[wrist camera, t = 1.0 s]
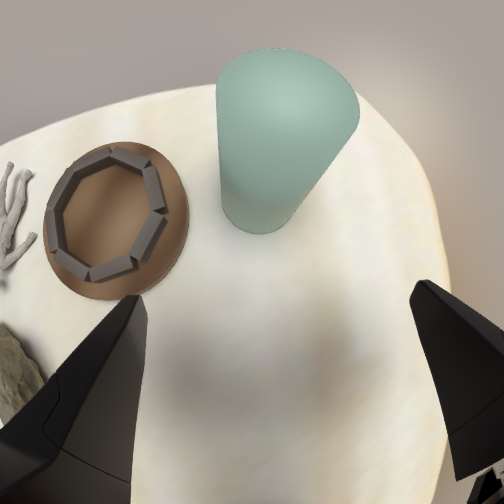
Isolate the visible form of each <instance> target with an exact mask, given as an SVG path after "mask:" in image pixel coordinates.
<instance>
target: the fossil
mask: <svg viewBox="0 0 504 504" xmlns="http://www.w3.org/2000/svg"><path fill="white" fill-rule="evenodd" d="M43 385H44V382H43V379H42V378H41V376H40V374H39V370H38V367H37V365H36V364H35V363H34V362H33V361H32V360H31V359H28V358H27V356H26V354H25V352H24V351H23V349H22V348H21V346H20V342H19V341H18V340H17V339H16V338H14V337H12V335H11V334H10V333H9V332H8V331H7V330H6V329H5V328H4V327H3V326H2V325H1V324H0V418H1V421H2V423H3V425H4V426H5V425H6V423H7V422H8V421H9V420H10V419H11V418H12V417H13V416H14V415H15V414H16V413H17V412H18V411H19V410H20V409H21V408H22V407H23V406H24V405H25V404H26V403H27V402H28V401H29V400H30V399H31V398H32V397H33V396H34V395H35V394H36V393H37V392H38V391H39V390H40V388H41V387H42V386H43Z"/></svg>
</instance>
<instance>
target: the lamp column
mask: <svg viewBox="0 0 504 504" xmlns="http://www.w3.org/2000/svg"><path fill="white" fill-rule="evenodd" d="M216 109H217V130H218V149H219V166H220V182H221V197H222V205H223V209H224V212H225V214H226V216H227V217H228V219H229V220H230V221H231V222H232V223H233V224H234V225H235V226H237V227H238V228H240V229H241V230H243V231H246V232H249V233H253V234H267V233H271V232H274V231H276V230H278V229H280V228H281V227H282V226H284V225H285V224H286V223H287V222H288V220H289V219H290V218H291V216H292V215H293V214H294V212H295V211H296V210H297V208H298V207H299V206H300V204H301V203H302V202H303V200H304V199H305V198H306V196H307V195H308V194H309V192H310V191H311V190H312V188H313V187H314V186H315V184H316V183H317V182H318V180H319V179H320V178H321V176H322V175H323V174H324V172H325V171H326V169H327V168H328V167H329V165H330V164H331V163H332V161H333V160H334V159H335V157H336V156H337V155H338V153H339V152H340V151H341V149H342V148H343V147H344V145H345V144H346V143H347V141H348V140H349V138H350V137H351V136H352V134H353V133H354V132H355V130H356V128H357V126H358V123H359V119H360V107H359V102H358V99H357V96H356V94H355V92H354V90H353V88H352V87H351V85H350V84H349V82H348V81H347V80H346V79H345V78H344V77H343V76H342V74H341V73H339V72H338V71H337V70H336V69H334V68H333V67H332V66H331V65H329V64H328V63H326V62H324V61H322V60H321V59H319V58H316V57H314V56H312V55H309V54H307V53H303V52H300V51H295V50H289V49H282V48H270V49H261V50H256V51H252V52H249V53H246V54H244V55H242V56H240V57H238V58H236V59H235V60H233V61H232V62H230V63H229V64H228V65H227V66H226V67H225V68H224V70H223V71H222V72H221V74H220V76H219V78H218V82H217V85H216Z"/></svg>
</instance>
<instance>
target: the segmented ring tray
mask: <svg viewBox="0 0 504 504" xmlns="http://www.w3.org/2000/svg"><path fill="white" fill-rule="evenodd" d="M188 226H189V207H188V201H187V196H186V193H185V191H184V188H183V185H182V183H181V180H180V178H179V176H178V174H177V172H176V170H175V168H174V167H173V166H172V164H171V163H170V162H169V161H168V160H167V159H166V158H165V157H164V156H163V155H162V154H161V153H159V152H158V151H156V150H155V149H153V148H151V147H149V146H146V145H143V144H140V143H134V142H115V143H110V144H106V145H103V146H100V147H98V148H95V149H93V150H91V151H89V152H88V153H86V154H85V155H83V156H82V157H80V158H79V159H78V160H76V161H74V162H73V164H72V165H71V166H70V167H69V168H67V169H66V170H65V172H64V174H63V175H62V177H61V178H60V179H59V181H58V182H57V184H56V186H55V188H54V190H53V192H52V194H51V196H50V198H49V201H48V203H47V207H46V211H45V216H44V223H43V238H44V246H45V251H46V255H47V258H48V261H49V263H50V265H51V267H52V269H53V271H54V272H55V274H56V275H57V277H58V278H59V279H60V280H61V281H62V282H63V284H65V285H66V286H67V287H68V288H69V289H71V290H72V291H74V292H76V293H77V294H79V295H82V296H84V297H87V298H91V299H97V300H121V299H123V298H124V297H125V296H126V295H128V294H142V293H144V292H145V291H147V290H149V289H151V288H152V287H153V286H155V285H156V284H157V283H158V282H160V281H161V280H162V279H163V278H164V277H165V276H166V275H167V274H168V272H169V271H170V270H171V268H172V267H173V266H174V264H175V263H176V261H177V259H178V257H179V256H180V253H181V251H182V249H183V247H184V244H185V240H186V237H187V232H188Z"/></svg>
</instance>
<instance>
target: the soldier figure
mask: <svg viewBox="0 0 504 504" xmlns="http://www.w3.org/2000/svg"><path fill="white" fill-rule="evenodd" d="M13 167H14V164H13V163H12V162H10V161H9V162H8V165H7V169H6V171H5V175H4V176H3V178H2V181H1V183H0V270H5V268H7V267H8V266H9V265H10V264H11V263H13V262H14V261H15V260H16V259H18V258H19V257H20V256H21V255H22V254H23V253H24V252H25V251H26V249H27V248H28V247H29V245H30V244H31V243H32V241H33V239H34V238H35V236H36V234H35V233H33V232H32V233H31V232H30V233H31V235H30V233H29V235H28V237H27V239H26V241H25V242H24V243H23V244H22V245H20V246H19V247H18V248H16V249H15V251H13V252H12V253H10V254H8V255H7V256H6V251H7V249H8V250H9V248H10V245H11V236H12V235H13V233H14V231H13V230H14V228H15V226H16V224H17V221H18V218H19V216H20V212H21V207H22V206H24V201H25V200H26V197H25V186H26V185H25V183H26V182H27V180H28V179H29V178H30V177H31V175H32V172H31V171H30V170H26V172H25V175H24V176H23V177H22V179H21V186H20V189H19V191H18V194H17V196H16V198H15V200H14V204H13V206H12V208H11V210H10V212H9V214H8V216H7V213H6V207H5V197H6V186H7V179H8V177H9V175H10V174H11V172H12V170H13ZM32 234H33V235H32ZM34 234H35V235H34ZM29 236H30V237H29ZM31 236H32V237H31Z"/></svg>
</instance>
